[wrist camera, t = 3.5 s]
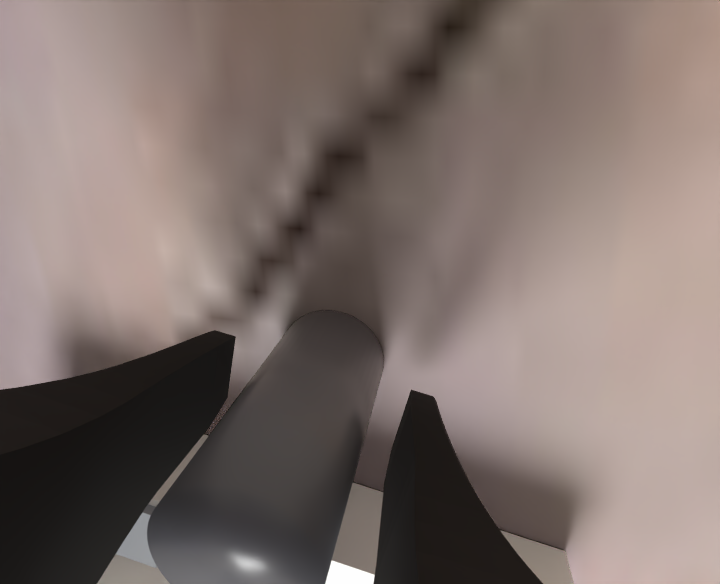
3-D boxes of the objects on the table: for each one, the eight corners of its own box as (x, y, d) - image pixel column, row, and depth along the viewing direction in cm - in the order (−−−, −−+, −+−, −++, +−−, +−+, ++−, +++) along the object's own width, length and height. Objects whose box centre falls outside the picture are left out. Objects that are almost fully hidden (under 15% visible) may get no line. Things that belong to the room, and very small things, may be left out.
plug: (275, 385, 15) (143, 589, 9) (291, 297, 14) (150, 461, 7) (370, 414, 15) (306, 647, 8) (395, 327, 14) (342, 525, 7)
